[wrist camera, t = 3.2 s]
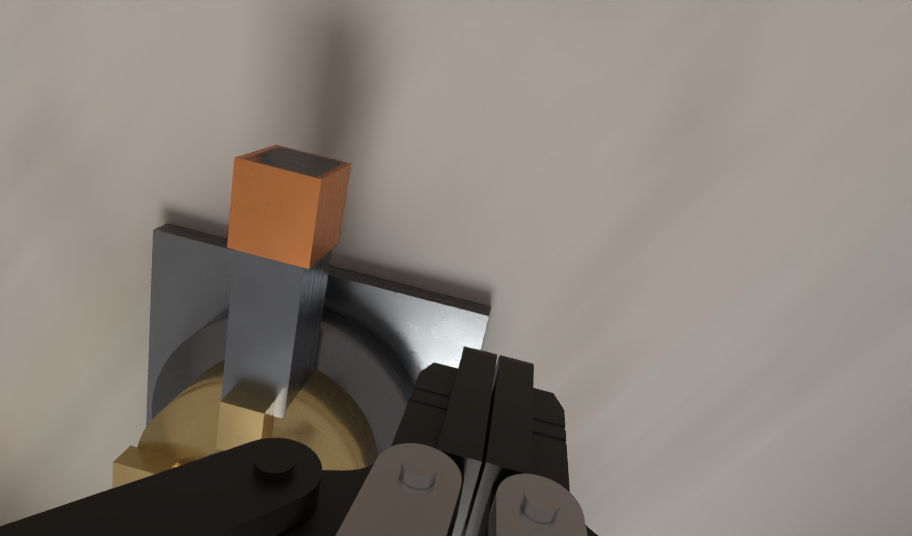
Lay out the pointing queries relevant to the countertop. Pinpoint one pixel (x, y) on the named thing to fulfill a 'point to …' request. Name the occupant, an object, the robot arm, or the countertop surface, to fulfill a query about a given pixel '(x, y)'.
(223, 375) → the rotary lever handle
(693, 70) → the countertop surface
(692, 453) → the countertop surface
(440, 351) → the housing
